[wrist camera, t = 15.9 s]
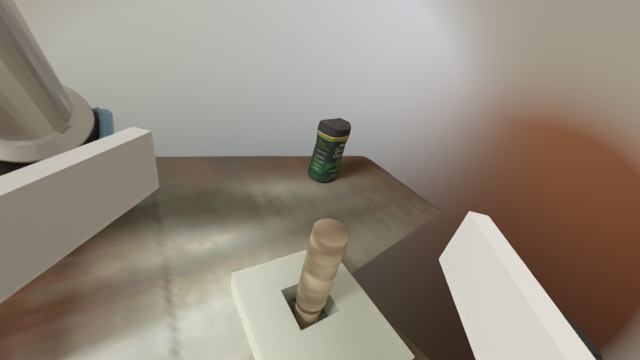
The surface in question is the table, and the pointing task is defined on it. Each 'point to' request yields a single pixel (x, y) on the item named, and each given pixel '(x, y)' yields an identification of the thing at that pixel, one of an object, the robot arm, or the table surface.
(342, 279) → the board
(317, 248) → the beech leg
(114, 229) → the table surface
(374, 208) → the table surface
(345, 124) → the coffee jar
